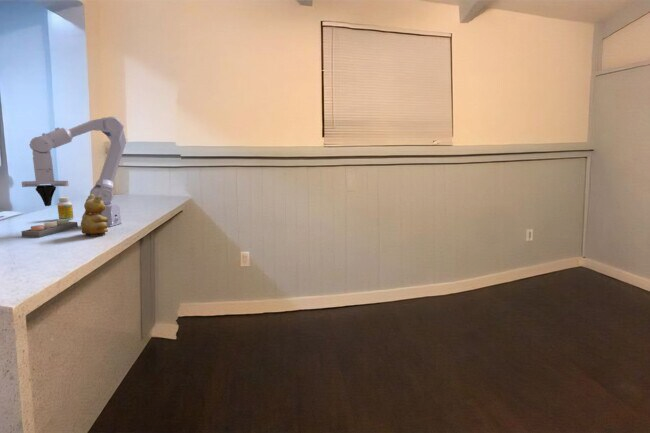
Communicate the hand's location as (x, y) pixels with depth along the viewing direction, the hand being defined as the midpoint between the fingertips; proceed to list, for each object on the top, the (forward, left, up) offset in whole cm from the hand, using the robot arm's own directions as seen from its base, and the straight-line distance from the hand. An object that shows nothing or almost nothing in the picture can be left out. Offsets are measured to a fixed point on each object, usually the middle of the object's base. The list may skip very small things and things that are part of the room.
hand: (48, 205), depth 150 cm
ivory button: (-1, 0, -9) cm, 9 cm away
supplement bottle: (+12, -23, -10) cm, 28 cm away
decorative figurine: (-21, +3, -10) cm, 23 cm away
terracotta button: (-1, +6, -9) cm, 11 cm away
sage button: (-1, -6, -9) cm, 10 cm away
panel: (-1, 0, -10) cm, 10 cm away
